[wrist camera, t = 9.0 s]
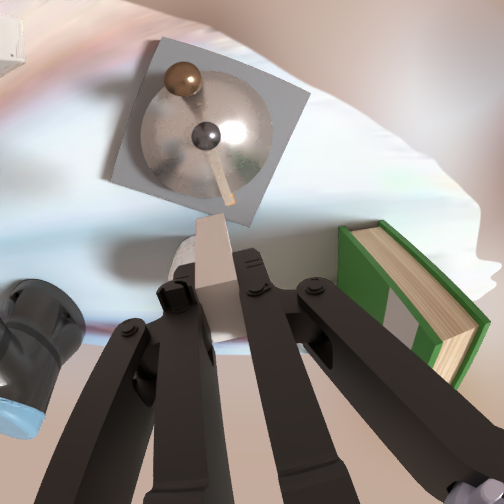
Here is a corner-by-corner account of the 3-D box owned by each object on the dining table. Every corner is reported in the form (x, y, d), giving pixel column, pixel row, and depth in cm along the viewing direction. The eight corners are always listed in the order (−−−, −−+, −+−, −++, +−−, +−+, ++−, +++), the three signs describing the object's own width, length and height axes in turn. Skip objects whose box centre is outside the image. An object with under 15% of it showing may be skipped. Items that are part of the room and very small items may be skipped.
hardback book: (338, 226, 42) (435, 345, 21) (383, 219, 43) (491, 321, 22) (335, 320, 51) (391, 438, 30) (373, 311, 51) (439, 418, 30)
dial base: (114, 177, 35) (109, 182, 33) (164, 39, 28) (161, 36, 26) (247, 221, 40) (249, 228, 38) (305, 93, 33) (311, 93, 31)
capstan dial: (285, 179, 36) (307, 204, 28) (173, 216, 36) (163, 251, 28) (248, 53, 28) (260, 38, 20) (126, 95, 29) (99, 96, 21)
